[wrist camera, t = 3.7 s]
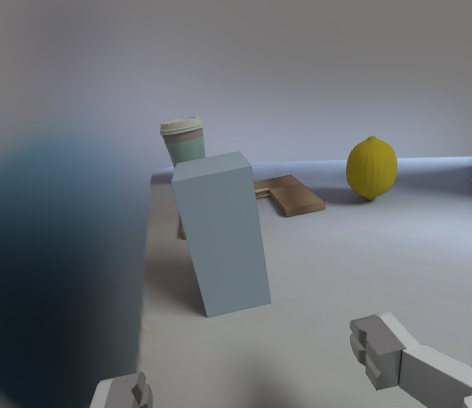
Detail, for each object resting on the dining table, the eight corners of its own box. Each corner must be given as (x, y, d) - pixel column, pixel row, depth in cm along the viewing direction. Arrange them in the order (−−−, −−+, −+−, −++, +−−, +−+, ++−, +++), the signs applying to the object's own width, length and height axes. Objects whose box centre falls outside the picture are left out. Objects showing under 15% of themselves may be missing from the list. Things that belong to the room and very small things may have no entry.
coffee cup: (190, 172, 63) (177, 118, 58) (221, 172, 58) (210, 114, 54) (164, 185, 56) (148, 126, 51) (197, 186, 52) (182, 122, 47)
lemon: (370, 213, 31) (372, 144, 28) (337, 199, 36) (335, 139, 33) (406, 200, 33) (411, 133, 30) (369, 188, 38) (371, 130, 35)
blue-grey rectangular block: (257, 266, 26) (239, 151, 21) (271, 303, 21) (251, 166, 17) (205, 277, 25) (176, 163, 21) (207, 317, 21) (171, 181, 17)
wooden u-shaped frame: (291, 180, 46) (291, 174, 46) (324, 209, 34) (324, 201, 34) (186, 201, 45) (185, 195, 45) (183, 239, 33) (181, 231, 33)
